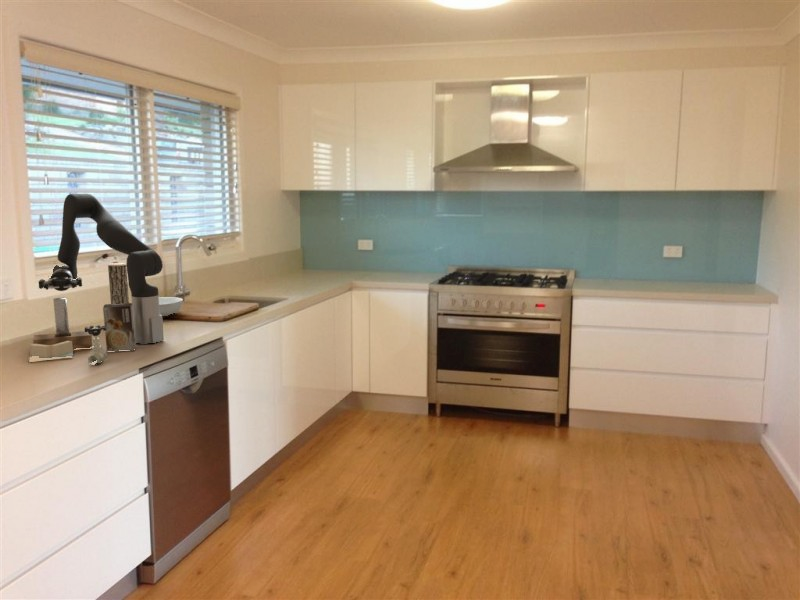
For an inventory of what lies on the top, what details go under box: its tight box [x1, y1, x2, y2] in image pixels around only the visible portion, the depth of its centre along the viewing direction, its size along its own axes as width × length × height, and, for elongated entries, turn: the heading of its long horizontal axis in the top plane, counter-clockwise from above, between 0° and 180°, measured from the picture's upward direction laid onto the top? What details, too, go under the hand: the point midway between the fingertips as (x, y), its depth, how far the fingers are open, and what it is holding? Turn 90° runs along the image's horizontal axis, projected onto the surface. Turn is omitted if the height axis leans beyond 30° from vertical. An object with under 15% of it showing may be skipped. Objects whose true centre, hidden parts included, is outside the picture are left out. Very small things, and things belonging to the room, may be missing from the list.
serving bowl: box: [159, 296, 184, 316], centre depth 296 cm, size 21×21×7 cm
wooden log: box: [107, 262, 130, 304], centre depth 277 cm, size 7×7×25 cm
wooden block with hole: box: [32, 330, 93, 349], centre depth 238 cm, size 18×8×5 cm, turn 114°
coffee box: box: [102, 302, 137, 352], centre depth 236 cm, size 9×6×16 cm
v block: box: [29, 341, 75, 358], centre depth 228 cm, size 10×13×4 cm
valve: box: [84, 324, 108, 364], centre depth 219 cm, size 7×7×12 cm
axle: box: [52, 297, 70, 337], centre depth 237 cm, size 4×4×18 cm
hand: (60, 286), depth 245 cm, fingers open, 8 cm apart
